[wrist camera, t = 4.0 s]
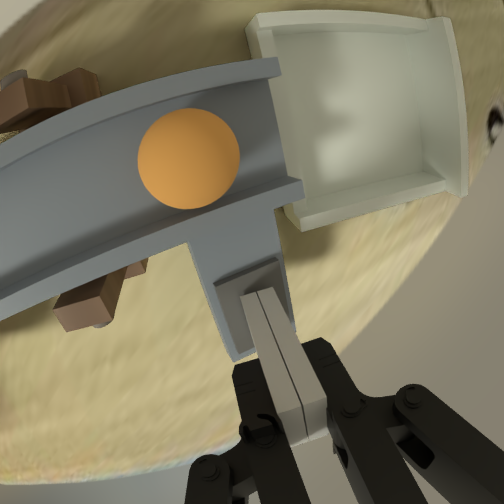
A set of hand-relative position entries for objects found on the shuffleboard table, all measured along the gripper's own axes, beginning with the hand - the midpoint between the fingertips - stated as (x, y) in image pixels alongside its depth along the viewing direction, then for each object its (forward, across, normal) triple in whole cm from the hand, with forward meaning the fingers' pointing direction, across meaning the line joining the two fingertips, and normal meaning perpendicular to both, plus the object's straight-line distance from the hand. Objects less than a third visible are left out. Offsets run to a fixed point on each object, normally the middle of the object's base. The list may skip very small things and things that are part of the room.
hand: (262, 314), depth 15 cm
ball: (-1, -1, +8) cm, 8 cm away
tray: (+6, +9, +8) cm, 13 cm away
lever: (0, -7, +4) cm, 8 cm away
